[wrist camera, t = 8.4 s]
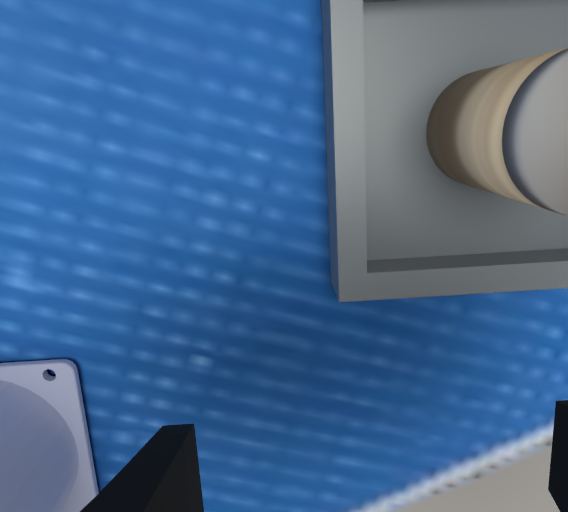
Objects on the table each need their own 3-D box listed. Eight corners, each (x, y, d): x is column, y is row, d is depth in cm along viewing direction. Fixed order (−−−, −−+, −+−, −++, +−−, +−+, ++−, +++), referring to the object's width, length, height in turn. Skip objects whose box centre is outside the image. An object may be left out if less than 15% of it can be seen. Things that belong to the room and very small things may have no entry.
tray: (330, 281, 20) (339, 302, 17) (320, -21, 17) (328, -48, 15) (601, 264, 20) (647, 283, 17) (632, -38, 17) (692, -66, 15)
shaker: (428, 190, 18) (520, 230, 11) (424, 76, 17) (524, 45, 10) (535, 179, 18) (692, 211, 11) (539, 64, 17) (713, 25, 10)
